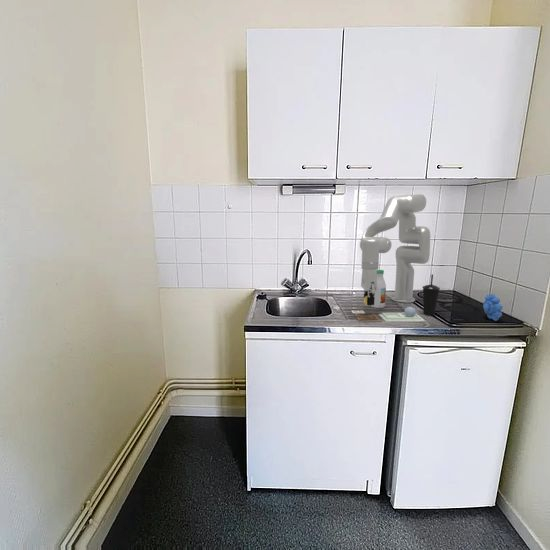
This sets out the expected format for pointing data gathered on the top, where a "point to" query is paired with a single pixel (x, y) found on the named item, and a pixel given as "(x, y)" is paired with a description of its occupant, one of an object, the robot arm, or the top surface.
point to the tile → (358, 312)
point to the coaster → (367, 317)
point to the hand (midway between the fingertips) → (368, 302)
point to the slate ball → (410, 312)
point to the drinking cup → (430, 298)
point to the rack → (400, 317)
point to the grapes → (492, 307)
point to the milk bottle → (380, 291)
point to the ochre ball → (366, 301)
